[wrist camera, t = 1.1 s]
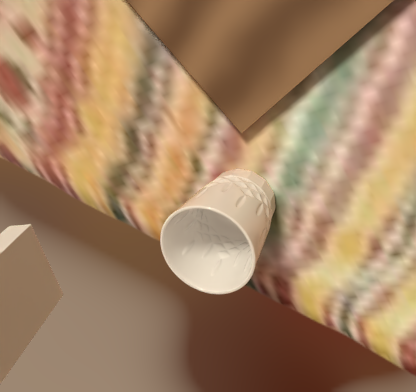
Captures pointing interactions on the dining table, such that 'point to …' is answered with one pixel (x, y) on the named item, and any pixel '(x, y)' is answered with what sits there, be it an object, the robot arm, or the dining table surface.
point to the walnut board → (253, 44)
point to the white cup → (220, 232)
